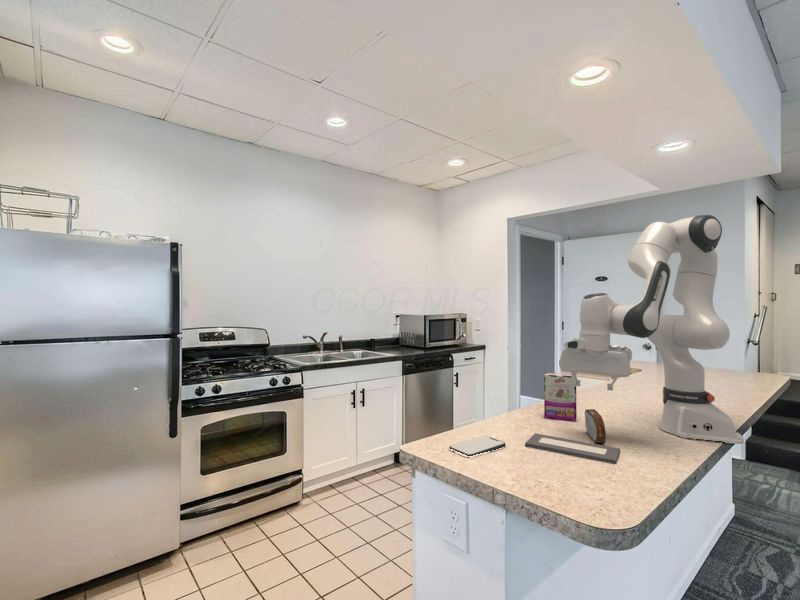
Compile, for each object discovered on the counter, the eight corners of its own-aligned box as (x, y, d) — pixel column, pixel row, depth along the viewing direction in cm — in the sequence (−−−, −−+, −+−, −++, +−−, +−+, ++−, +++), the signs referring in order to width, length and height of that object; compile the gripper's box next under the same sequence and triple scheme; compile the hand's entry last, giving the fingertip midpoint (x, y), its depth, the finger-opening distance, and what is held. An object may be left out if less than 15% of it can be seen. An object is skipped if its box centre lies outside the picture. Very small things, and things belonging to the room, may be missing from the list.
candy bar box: (576, 418, 152) (576, 374, 152) (576, 422, 147) (576, 376, 147) (544, 415, 156) (544, 372, 156) (543, 418, 151) (544, 374, 151)
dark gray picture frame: (620, 452, 117) (620, 448, 117) (616, 464, 108) (616, 460, 108) (535, 436, 130) (535, 433, 130) (525, 446, 121) (525, 442, 121)
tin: (606, 447, 121) (606, 418, 121) (595, 446, 122) (595, 418, 122) (593, 431, 136) (593, 406, 136) (583, 431, 137) (583, 405, 137)
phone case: (469, 461, 111) (507, 448, 120) (469, 455, 111) (507, 442, 120) (447, 451, 118) (484, 440, 127) (447, 446, 118) (484, 435, 127)
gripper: (632, 346, 126) (631, 390, 126) (563, 341, 138) (562, 382, 137) (631, 347, 121) (630, 394, 121) (558, 342, 132) (557, 385, 132)
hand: (593, 387), depth 129 cm, fingers open, 8 cm apart
